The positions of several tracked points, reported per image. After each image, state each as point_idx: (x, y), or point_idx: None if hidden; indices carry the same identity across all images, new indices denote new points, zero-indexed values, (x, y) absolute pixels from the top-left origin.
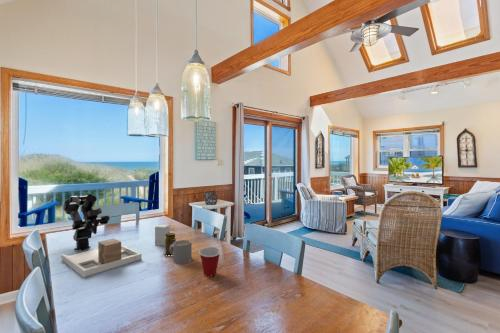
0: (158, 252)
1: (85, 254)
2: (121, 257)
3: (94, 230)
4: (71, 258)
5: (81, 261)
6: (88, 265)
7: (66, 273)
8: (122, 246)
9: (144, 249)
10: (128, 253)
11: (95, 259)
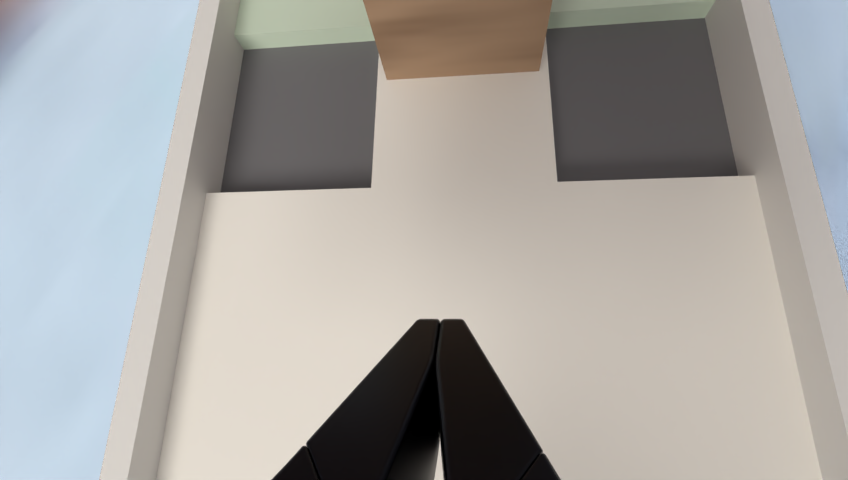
0: (64, 17)
1: (571, 459)
2: (315, 105)
3: (456, 371)
4: (763, 443)
5: (673, 219)
6: (617, 125)
7: (821, 102)
8: (168, 255)
9: (55, 172)
10: (225, 130)
11: (535, 166)
